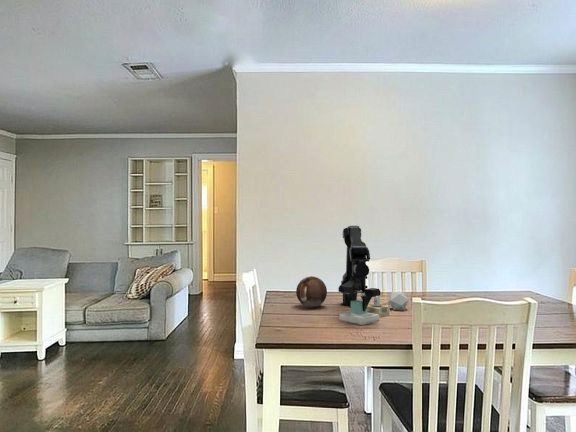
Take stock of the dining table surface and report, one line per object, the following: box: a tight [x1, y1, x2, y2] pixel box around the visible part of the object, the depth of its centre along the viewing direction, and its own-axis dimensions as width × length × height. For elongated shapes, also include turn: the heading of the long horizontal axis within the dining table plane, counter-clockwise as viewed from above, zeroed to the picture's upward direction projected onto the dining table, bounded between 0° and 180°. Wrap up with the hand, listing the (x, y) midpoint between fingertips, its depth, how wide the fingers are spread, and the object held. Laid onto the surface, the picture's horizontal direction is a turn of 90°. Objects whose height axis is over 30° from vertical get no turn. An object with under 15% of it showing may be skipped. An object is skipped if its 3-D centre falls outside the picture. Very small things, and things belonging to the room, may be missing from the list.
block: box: [350, 299, 367, 315], centre depth 201 cm, size 5×5×5 cm
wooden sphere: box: [295, 276, 328, 308], centre depth 230 cm, size 15×15×15 cm
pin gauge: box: [373, 295, 381, 307], centre depth 212 cm, size 3×3×9 cm
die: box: [387, 291, 409, 311], centre depth 223 cm, size 8×9×10 cm
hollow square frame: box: [367, 303, 390, 319], centre depth 212 cm, size 8×8×4 cm
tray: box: [338, 311, 380, 326], centre depth 201 cm, size 12×12×2 cm
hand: (359, 310), depth 201 cm, fingers closed on block, 5 cm apart
